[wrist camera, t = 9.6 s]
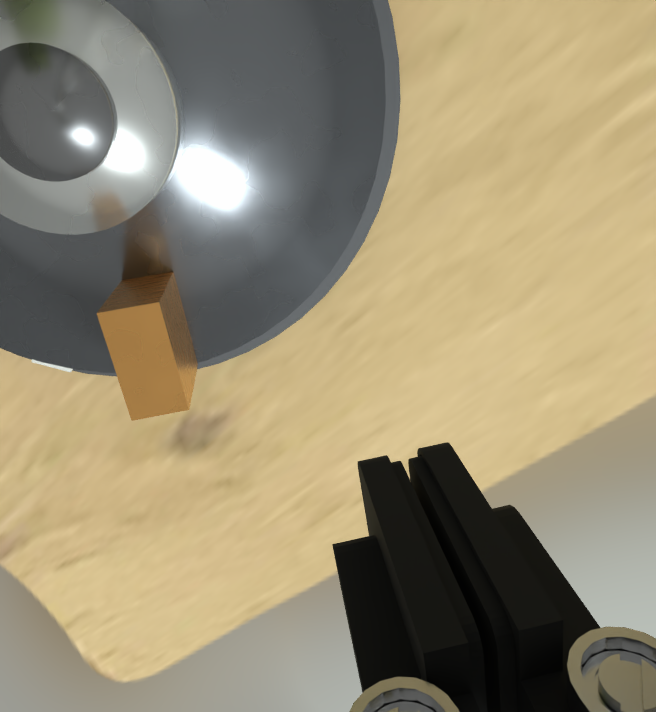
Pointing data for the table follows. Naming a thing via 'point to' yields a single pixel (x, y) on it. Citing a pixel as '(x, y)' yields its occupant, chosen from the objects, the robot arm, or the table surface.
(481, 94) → the table surface
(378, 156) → the turntable
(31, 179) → the cover
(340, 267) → the turntable base
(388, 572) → the robot arm
